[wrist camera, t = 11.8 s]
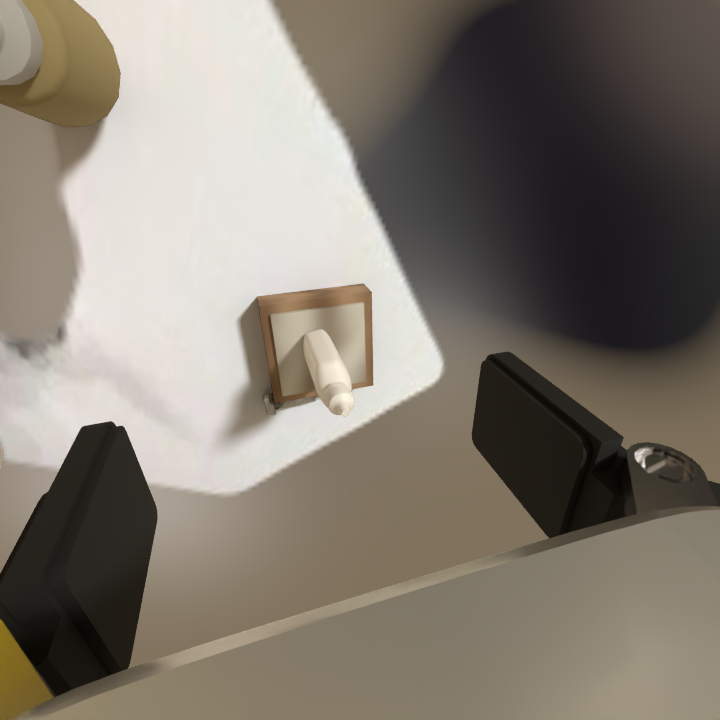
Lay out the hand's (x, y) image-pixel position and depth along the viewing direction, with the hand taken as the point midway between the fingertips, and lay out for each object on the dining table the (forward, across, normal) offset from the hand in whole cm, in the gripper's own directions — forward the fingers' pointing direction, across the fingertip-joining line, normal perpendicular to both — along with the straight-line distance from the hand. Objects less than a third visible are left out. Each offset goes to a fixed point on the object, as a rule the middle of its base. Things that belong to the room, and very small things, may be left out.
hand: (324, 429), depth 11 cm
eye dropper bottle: (+31, -5, +14) cm, 34 cm away
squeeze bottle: (+34, +12, -12) cm, 38 cm away
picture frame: (+34, -5, +14) cm, 37 cm away
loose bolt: (+34, -1, +22) cm, 41 cm away
